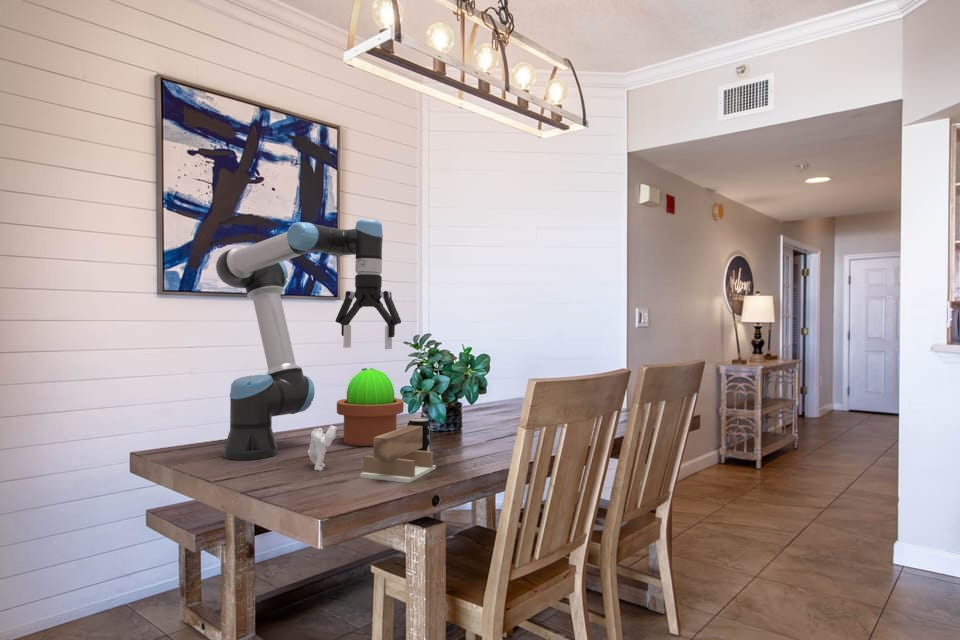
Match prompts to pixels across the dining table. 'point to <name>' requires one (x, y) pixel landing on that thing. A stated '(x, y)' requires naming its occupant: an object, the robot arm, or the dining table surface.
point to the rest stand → (400, 467)
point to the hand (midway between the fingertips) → (367, 348)
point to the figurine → (320, 445)
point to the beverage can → (426, 431)
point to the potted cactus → (369, 408)
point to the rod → (397, 443)
